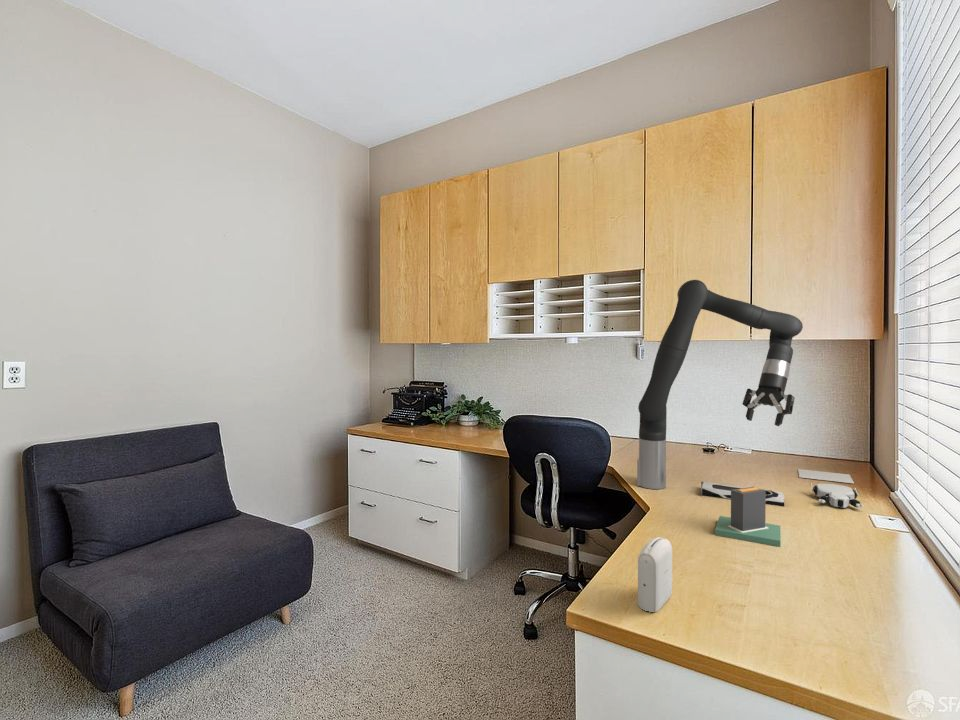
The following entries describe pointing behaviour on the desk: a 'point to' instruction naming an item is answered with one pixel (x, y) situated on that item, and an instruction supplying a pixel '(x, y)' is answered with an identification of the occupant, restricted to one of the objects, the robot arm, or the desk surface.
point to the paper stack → (825, 476)
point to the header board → (749, 532)
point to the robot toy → (836, 495)
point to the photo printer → (654, 574)
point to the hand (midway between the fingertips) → (762, 422)
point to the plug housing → (748, 508)
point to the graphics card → (725, 490)
